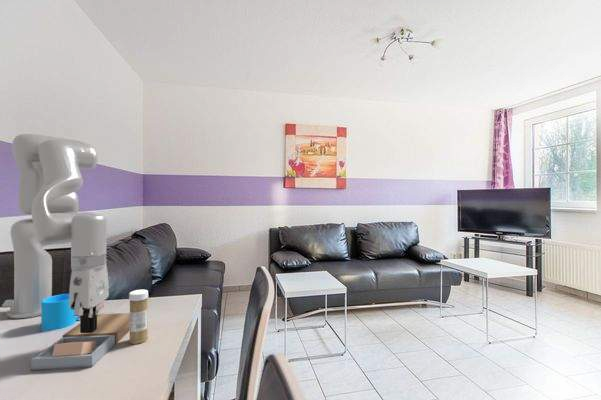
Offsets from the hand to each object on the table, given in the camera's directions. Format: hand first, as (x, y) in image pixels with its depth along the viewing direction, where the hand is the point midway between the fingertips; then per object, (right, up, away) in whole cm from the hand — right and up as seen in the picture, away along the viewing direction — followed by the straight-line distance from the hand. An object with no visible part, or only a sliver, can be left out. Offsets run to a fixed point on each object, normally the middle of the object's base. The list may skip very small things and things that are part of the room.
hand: (88, 331), depth 77 cm
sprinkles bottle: (+11, -4, +3) cm, 12 cm away
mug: (-17, -4, +14) cm, 23 cm away
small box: (-17, -4, +25) cm, 31 cm away
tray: (+1, -4, -5) cm, 6 cm away
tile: (+1, 0, -6) cm, 6 cm away
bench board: (-1, -4, +7) cm, 8 cm away
